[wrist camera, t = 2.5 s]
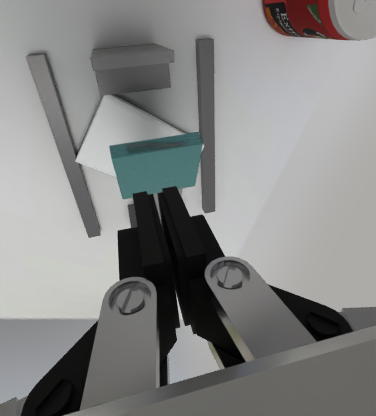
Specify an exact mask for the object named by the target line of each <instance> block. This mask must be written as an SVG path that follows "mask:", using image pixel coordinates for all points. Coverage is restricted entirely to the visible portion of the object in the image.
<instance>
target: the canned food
mask: <svg viewBox="0 0 376 416" xmlns="http://www.w3.org/2000/svg"><path fill="white" fill-rule="evenodd" d="M263 6H264V12H265V15H266V18H267V20H268V22H269V24H270V25H271V26H272V27H273V28H274V29H275V30H276V31H277V32H279V33H280V34H282V35H285V36H294V37H308V38H322V39H336V40H367V39H371V38H374V37H376V0H263Z"/></svg>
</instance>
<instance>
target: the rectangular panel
mask: <svg viewBox="0 0 376 416" xmlns="http://www.w3.org/2000/svg"><path fill="white" fill-rule="evenodd" d="M202 146H203V143H202V141H201V138H200V135H199V132H195V133H188V134H182V135H175V136H169V137H162V138H156V139H149V140H143V141H136V142H130V143H123V144H117V145H110V146H109V148H110V154H111V159H112V163H113V166H114V170H115V173H116V177H117V180H118V184H119V187H120V191H121V194H122V198H123V199H128V198H133V193H138V192H144V191H147V194H148V195H149V194H153V195H154V199H155V203H156V206H157V210H158V213H159V217H160V221H161V216H160V209H159V202H158V195H157V193H160V192H162V188H168V187H173V186H176V187H177V189H178V191H179V193H180V195H181V194H182V188H186V187H191V186H195V183H196V177H197V172H198V167H199V162H200V156H201V151H202ZM161 224H162V223H161Z"/></svg>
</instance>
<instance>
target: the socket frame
mask: <svg viewBox="0 0 376 416" xmlns="http://www.w3.org/2000/svg"><path fill="white" fill-rule="evenodd" d="M196 57H197V82H198V107H199V132H200V138H201V141H202V143H203V144H204V148H203V150H202V152H201V156H200V157H201V182H202V207H203V211H204V212H205V213H209V212H214V211H215V135H214V39H201V40H196ZM26 59H27V62H28V64H29V67H30V70H31V73H32V76H33V79H34V82H35V85H36V87H37V90H38V93H39V96H40V99H41V102H42V105H43V108H44V110H45V113H46V116H47V119H48V122H49V125H50V128H51V131H52V134H53V136H54V139H55V142H56V145H57V148H58V151H59V154H60V157H61V159H62V162H63V165H64V168H65V171H66V174H67V177H68V180H69V182H70V185H71V188H72V191H73V194H74V197H75V200H76V203H77V205H78V208H79V211H80V214H81V217H82V220H83V223H84V226H85V228H86V231H87V234H88V237H89V238H90V237H95V236H100V227H99V224H98V221H97V217H96V214H95V211H94V208H93V204H92V201H91V198H90V195H89V192H88V188H87V185H86V182H85V179H84V175H83V172H82V169H81V166H80V163H78V162H75V159H76V156H77V153H76V150H75V146H74V143H73V140H72V137H71V133H70V130H69V127H68V124H67V121H66V117H65V114H64V111H63V108H62V104H61V101H60V98H59V95H58V91H57V88H56V85H55V82H54V79H53V75H52V72H51V69H50V66H49V62H48V59H47V56H46V54H37V55H28V56H26ZM91 62H92V67H93V71H95V73H96V78H97V82H98V87H99V91H100V95H101V96H104V95H113V94H121V93H129V92H137V91H146V90H154V89H162V88H170V87H171V85H170V74H169V64H168V63H173V62H174V51H173V50H171V49H168V48H166V47H163V46H160V45H157V44H146V45H135V46H124V47H113V48H102V49H93V51H92V55H91ZM128 210H129V217H130V223H131V228H134V227H137V220H136V214H135V207H134V204H133V205H128Z"/></svg>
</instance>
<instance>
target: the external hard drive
mask: <svg viewBox="0 0 376 416" xmlns="http://www.w3.org/2000/svg"><path fill="white" fill-rule="evenodd" d="M182 134H186V133H184V132H182V131H180V130H178V129H177V128H175V127H173V126H171V125H169V124H167V123H165V122H164V121H162V120H160V119H158V118H156V117H154V116H152V115H151V114H149V113H147V112H145V111H143V110H141V109H139V108H138V107H136V106H134V105H132V104H130V103H128V102H126V101H125V100H123V99H121V98H119V97H117V96H116V95H114V94H113V95H104V96H102V98H101V100H100V102H99V105H98V107H97V109H96V112H95V114H94V116H93V119H92V121H91V123H90V126H89V128H88V130H87V132H86V135H85V137H84V139H83V142H82V144H81V146H80V149H79V151H78V153H77V156H76V159H75V162H78V163H80V164H83V165H85V166H88V167H91V168H93V169H96V170H98V171H101V172H103V173H106V174H108V175H111V176H114V177H116V173H115V170H114V166H113V163H112V159H111V154H110V148H109V146H110V145H117V144H123V143H130V142H136V141H143V140H149V139H156V138H162V137H169V136H175V135H182ZM203 148H204V144H203V146H202V150H203ZM201 152H202V151H201ZM116 178H117V177H116Z"/></svg>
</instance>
